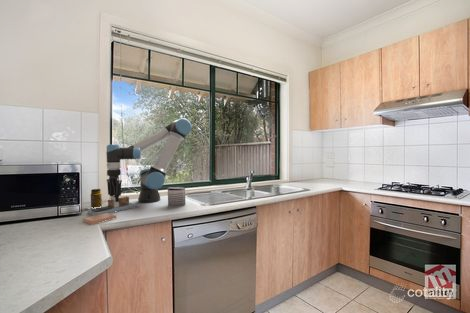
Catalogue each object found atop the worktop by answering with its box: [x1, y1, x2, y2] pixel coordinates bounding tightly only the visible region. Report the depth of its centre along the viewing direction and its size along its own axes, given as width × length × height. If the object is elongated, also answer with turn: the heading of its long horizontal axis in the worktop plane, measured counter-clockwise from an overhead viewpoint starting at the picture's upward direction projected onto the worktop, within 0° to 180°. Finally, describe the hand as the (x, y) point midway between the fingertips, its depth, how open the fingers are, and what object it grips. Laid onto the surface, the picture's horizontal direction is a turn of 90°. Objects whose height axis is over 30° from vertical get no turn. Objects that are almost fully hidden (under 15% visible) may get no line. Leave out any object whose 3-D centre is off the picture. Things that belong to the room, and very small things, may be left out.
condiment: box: [90, 188, 103, 208], centre depth 148 cm, size 7×8×12 cm
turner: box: [90, 196, 130, 212], centre depth 140 cm, size 21×6×5 cm, turn 146°
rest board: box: [87, 202, 138, 216], centre depth 141 cm, size 24×13×2 cm, turn 147°
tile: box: [82, 213, 117, 226], centre depth 120 cm, size 2×10×12 cm
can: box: [167, 186, 186, 208], centre depth 150 cm, size 11×11×12 cm
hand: (114, 206), depth 142 cm, fingers closed on turner, 3 cm apart
